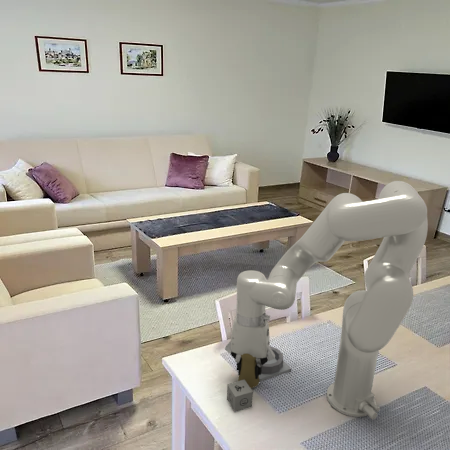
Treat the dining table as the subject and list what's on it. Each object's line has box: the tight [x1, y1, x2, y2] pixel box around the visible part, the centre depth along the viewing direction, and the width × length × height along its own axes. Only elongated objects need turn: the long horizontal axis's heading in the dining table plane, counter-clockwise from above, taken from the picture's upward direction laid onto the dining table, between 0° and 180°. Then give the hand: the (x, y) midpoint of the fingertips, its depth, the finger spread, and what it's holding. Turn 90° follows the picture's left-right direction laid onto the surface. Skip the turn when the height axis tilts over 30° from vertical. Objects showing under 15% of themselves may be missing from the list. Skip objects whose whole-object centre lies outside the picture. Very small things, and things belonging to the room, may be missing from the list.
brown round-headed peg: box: [237, 353, 260, 389], centre depth 117 cm, size 6×6×11 cm
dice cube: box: [226, 379, 254, 413], centre depth 112 cm, size 5×5×5 cm
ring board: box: [259, 345, 293, 383], centre depth 126 cm, size 11×11×4 cm
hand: (249, 373), depth 118 cm, fingers closed on brown round-headed peg, 4 cm apart
